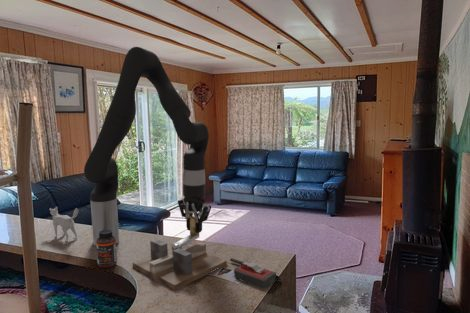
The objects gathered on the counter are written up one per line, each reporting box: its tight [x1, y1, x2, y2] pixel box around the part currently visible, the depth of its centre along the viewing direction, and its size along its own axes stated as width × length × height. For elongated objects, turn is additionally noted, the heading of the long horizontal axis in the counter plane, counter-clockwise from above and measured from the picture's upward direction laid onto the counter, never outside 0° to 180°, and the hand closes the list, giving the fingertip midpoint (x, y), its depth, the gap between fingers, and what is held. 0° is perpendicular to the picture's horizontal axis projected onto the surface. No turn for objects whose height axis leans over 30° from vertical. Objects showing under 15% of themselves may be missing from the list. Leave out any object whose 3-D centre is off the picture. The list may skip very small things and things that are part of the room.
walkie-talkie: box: [229, 257, 281, 290], centre depth 105 cm, size 9×4×20 cm
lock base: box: [132, 238, 228, 291], centre depth 111 cm, size 22×21×8 cm
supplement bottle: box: [95, 230, 117, 269], centre depth 113 cm, size 6×6×11 cm
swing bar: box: [171, 215, 200, 250], centre depth 114 cm, size 13×3×7 cm, turn 151°
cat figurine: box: [49, 205, 80, 243], centre depth 136 cm, size 4×20×14 cm, turn 54°
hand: (194, 230), depth 118 cm, fingers closed on swing bar, 3 cm apart
